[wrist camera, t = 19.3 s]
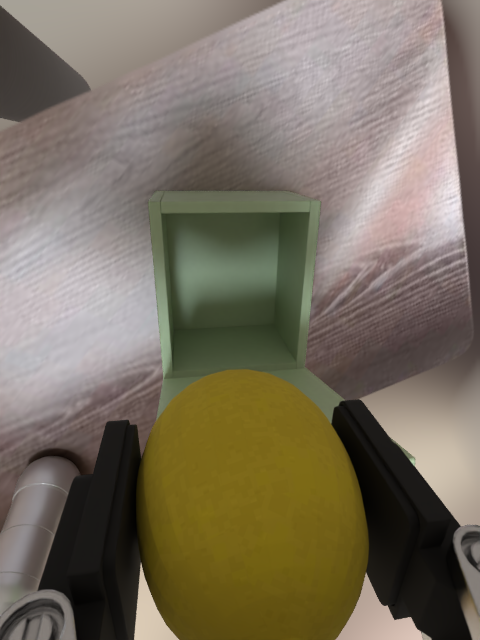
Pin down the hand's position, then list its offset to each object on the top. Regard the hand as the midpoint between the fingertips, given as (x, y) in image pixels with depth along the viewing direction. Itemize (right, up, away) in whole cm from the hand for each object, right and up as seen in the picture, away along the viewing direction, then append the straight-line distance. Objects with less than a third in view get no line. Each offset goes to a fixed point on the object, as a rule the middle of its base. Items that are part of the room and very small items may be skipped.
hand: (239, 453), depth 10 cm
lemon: (-1, +1, +3) cm, 3 cm away
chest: (-2, +9, +25) cm, 27 cm away
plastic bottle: (-22, -14, +32) cm, 41 cm away
